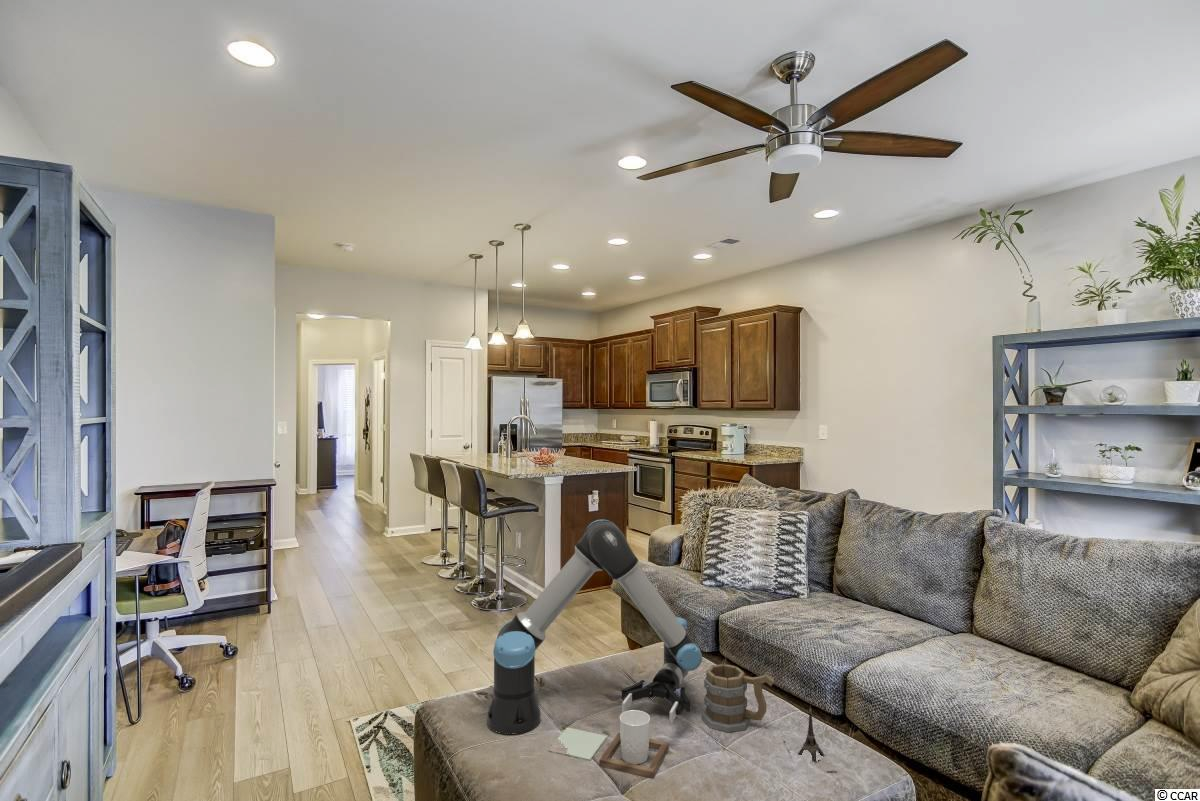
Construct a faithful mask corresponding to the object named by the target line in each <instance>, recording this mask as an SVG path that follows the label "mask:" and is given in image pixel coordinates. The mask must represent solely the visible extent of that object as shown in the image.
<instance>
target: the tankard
mask: <svg viewBox="0 0 1200 801" xmlns="http://www.w3.org/2000/svg"><path fill="white" fill-rule="evenodd" d="M705 672H706V673H705V676H706V677H705V678H704V679H703V687H704V688H705V689H706V693H705V695H704V697H703V703H704V706H706V707H705V709H704V710H703V711H702V713H701V719H702V721H703V722H704V723H705V724H706V725H707V726H708V727H709V728H711V729H712V730H715V731H720V732H725V733H734V732H740V731H745V730H746V728H747V727H748V726H749V724H750V721H760V722H761V721H762V720H763V718H764V717H765V715H766V713H767V701H766V699H765V696H764V692H763V685H762V684H767V685H768V686H770V687H772V685H773V684H774V683H775V679H774V678H772V677H771V676H770V675H768V674H763V675H759V676H755V677H753V676H752V677H751V676H748V675H747V676H746V675H745V672H744V670H742V669H740V668H739V667H738V666H735V665H731V664H727V663H726V664H725V663H724V664H723V663H721V664H712V665H710V666H709V667H708V668H707V669H706V671H705ZM748 684H750V685H753V692H754V697H755V699H756V702H757V706H758V710H757V711H752V710H749V709H747V707H748V698H747V697H746V691H747V690H748Z"/></svg>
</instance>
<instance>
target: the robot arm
mask: <svg viewBox="0 0 1200 801" xmlns="http://www.w3.org/2000/svg"><path fill="white" fill-rule="evenodd" d="M639 561H640V560H639V559H638V557H637V556H636V555H635V552H634V551H633V549H632V548H631V546H630V544H629V543H628V540H627V538H626V536H625V534H624V533H623V532H622V530H620V528H619V527H618V525H616V524H615V523H614V522H613V521H610V520H607V519H597V520H594V521H592V522H590V523H589V525H588V526H587V527H586V528H585V531H584V533H583V536H582V537H581V538H580V539H579V540H578V542H577V543H576V544H575V545H574V554H573V555H572V556H571V558H569V560H567V562H566V563H565V565H564V566H562V568H561V569H560V570H559V572H558V573H557V574H556V575H555V577H553V579H552V580H551V581H550V582H549V583H548V585H546V587H544V590H542V592H540V594H539V595H538V596H537V598H536V599H535V600H534V601H533V602H532V604H531V605H530V606H529V607H528V608H527V609H526V611H524V612H521V611H520V612H518V613H517V614H515V615H514V617H513V618H512V619H511V620H510V621H508V622H506V623H505V624H504V625H502V627H501V628H500V630H499V632H498V634H497V637H496V640H495V642H494V645H493V697H492V700H491V703H490V706H489V708H488V712H487V723H488V724H487V727H488V726H489V727H490V728H491V729H492V730H491V729H490V728H489V727H488V728H489V729H490V730H491V731H493V730H494V731H497V732H500V733H499V734H501V733H506V734H505V735H513V734H512V733H520V734H524V733H528V732H530V731H532V730H534V729H535V728H536V727H538V726H539V724H540V723H541V708H540V706H539V702H538V699H537V698H538V697H537V695H536V692H535V686H536V685H535V684H536V683H535V679H536V678H535V671H536V670H535V668H536V667H535V663H536V662H535V660H536V658H535V656H536V655H535V654H536V651H537V649H538V648H539V647H540V646H541V644H542V643H543V642H544V641H545V639H546V631H547V629H548V628H549V627H550V626H551V625H552V624H553V622H554V621H555V620H556V619H557V617H559V615H560V614H561V613H562V612H563V610H564V609H565V608H566V606H568V605H569V603H570V602H571V601H572V599H574V597H575V596H577V594H578V592H580V590H581V589H582V588H583V586H584V585H586V583H587V582H588V581H589V579H590V578H591V577H592V576H593V575H594V573H596V572H602V571H603V570H605V572H607V574H608V575H609V576H610V578H611V580H613V581H617V582H618V583H619V584H620V586H621V587H622V588H623V589H624V591H625V592H626V594H627V595H628V596H629V598H630V599H631V601H632V602H633V603H634V604H635V606H636V608H637V609H638V610H639V611H640V612H641V614H642V616H643V617H644V618H645V619H646V621H647V622H648V624H649V625H650V626H651V628H652V629H653V631H654V632H655V633H656V635H657V636H658V637H659V639H660V640H661V642H662V644H663V664H662V666H661V667H660V668H659V669H658V671H657V673H655V676H654V677H653V679H652V680H651V681H652V682H649V683H646V681H645V680H644V679H641V680H639V682H636V683H635V684H632V685H630V686H627V687H625V688H623V689H621V691H620V692H621V694H620V695H621V700H622V702H621V714H622V713H623V712H625V711H628V710H629V708H630V707H631V706H632V705H633V701H637V700H641V699H642V700H643V699H645V698H648V699H651V698H661V699H664V700H667V702H669V703H671V704H672V707H671V709H670V711H669V723H670V724H672V723H673V722H674V721H675V719H676V717H677V716H680V715H681V714H682V712H684V711H685V712H691V701H690V699H689V697H688V696H687V693H686V687H684V686H681V684H682V683H683V681H684V679H685V678H686V676H687V675H688V674H689V672H692V671H695V670H696V669H698V668H699V667H700V666H701V664H702V661H703V655H702V651H701V650H700V647H699V646H698V645H697V644H696V643H695V641H694V640H693V639H692V637H691V636H690V635H689V633H688V624H687V622H688V621H687V620H686V619H685V618H682V617H679V616H676V615H675V614H674V612H673V611H672V609H671V608H670V607H669V605H668V604H667V603H666V602H665V600H664V599H663V597H662V595H660V594H659V592H658V590H657V589H656V588H655V586H654V585H653V583H652V582H651V581H650V579H649V578H648V577H647V575H646V574H645V573H644V571H643V569H642V568H641V567H640V566H639ZM680 686H681V687H680ZM494 731H493V732H494ZM497 732H496V733H497ZM507 733H508V734H507Z"/></svg>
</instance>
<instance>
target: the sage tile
mask: <svg viewBox="0 0 1200 801" xmlns="http://www.w3.org/2000/svg"><path fill="white" fill-rule="evenodd" d="M557 739H558V740H560V741H561V744H562V743H563V744H564V746H565V748H568V749H567V750H568V751H567V750H566V751H567V753H566V754H568V753H569V755H572V756H575V757H577V758H576V759H579V758H581V759H580V760H584V761H589V762H590V761H592V759H593V758H594V756H595V754H596V753H597V752H598V751H599V749H600V748H601V746H602V745H603V744H604V742H605V741H606V740H607V739H608V735H605V734H600V733H595V732H590V731H585V730H583V729H582V730H581V729H576V728H573V727H566V728H565V729H564V730H563V731H562V733H561V734H560V735H559V736H558V738H556V740H557ZM560 741H559V742H560ZM575 757H574V758H575Z"/></svg>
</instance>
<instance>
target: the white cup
mask: <svg viewBox="0 0 1200 801" xmlns="http://www.w3.org/2000/svg"><path fill="white" fill-rule="evenodd" d="M650 728H651V716H650V715H649V713H647V712H645V711H642V710H638V709H631V710H629V709H628V710H627V711H625V712H623V713H622V712H621V714H619V732H620V739H621V744H620V747H621V748H620V749H621V759H622V760H623V762H627V763H632V764H636V765H642V764H644V763H645V762H647V761H648V759H649V749H650V748H649V739H650V735H651V734H650V732H651V731H650V730H651V729H650Z"/></svg>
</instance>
